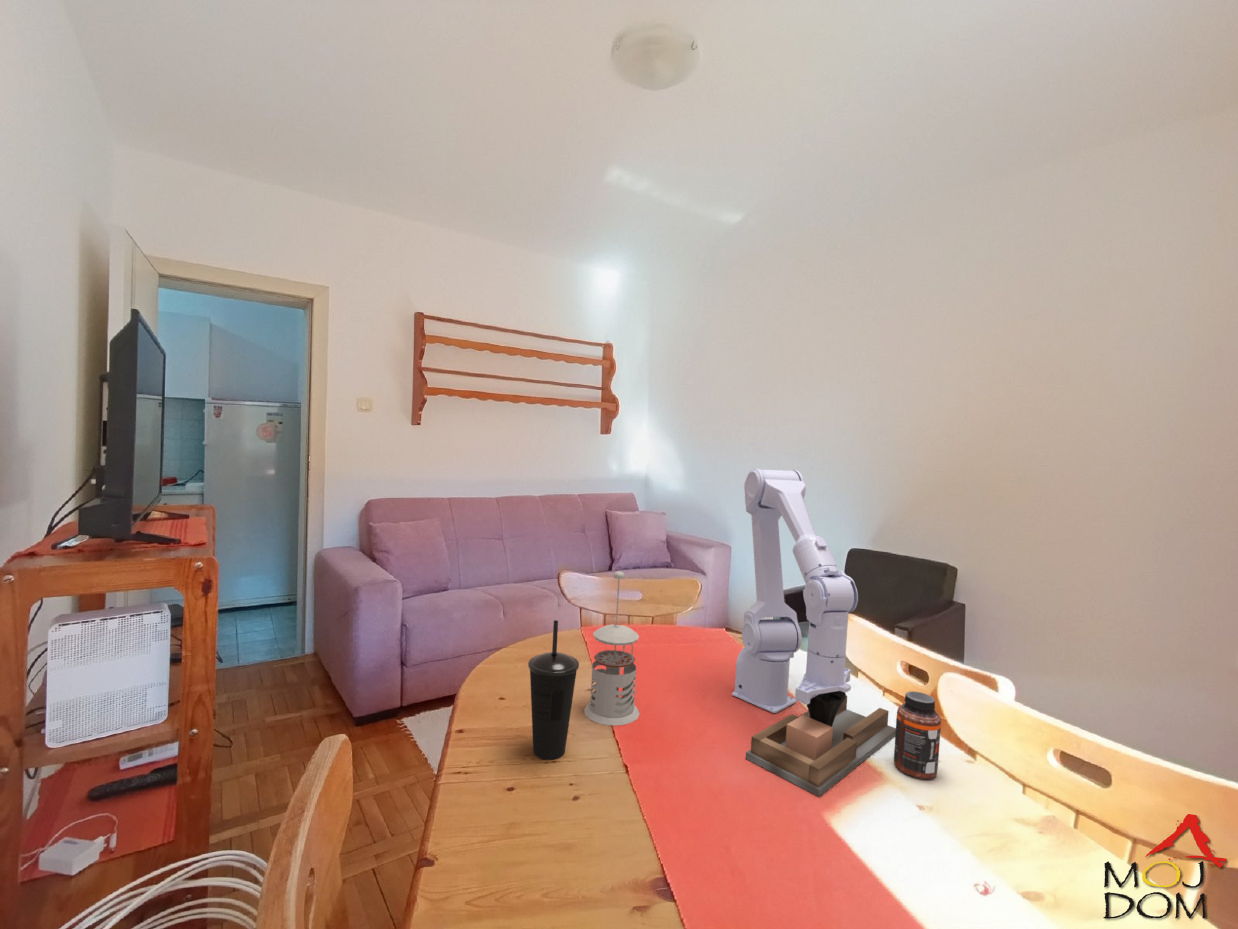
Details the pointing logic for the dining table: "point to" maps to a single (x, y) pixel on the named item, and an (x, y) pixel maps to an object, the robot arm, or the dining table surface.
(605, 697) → the french press
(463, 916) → the dining table surface
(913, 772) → the supplement bottle
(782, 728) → the walled tray
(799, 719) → the block
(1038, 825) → the dining table surface
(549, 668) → the drinking cup
